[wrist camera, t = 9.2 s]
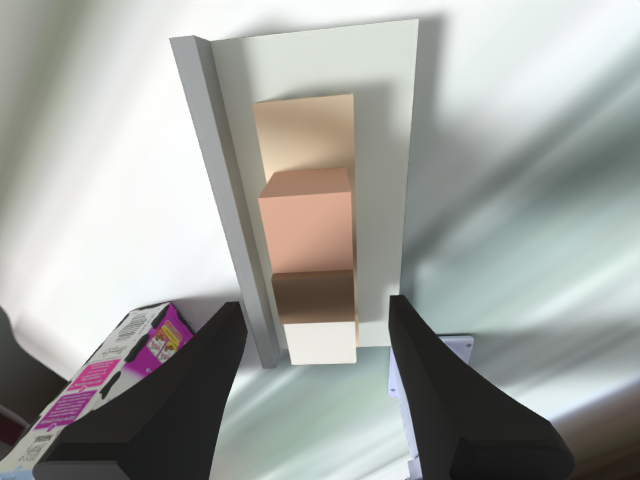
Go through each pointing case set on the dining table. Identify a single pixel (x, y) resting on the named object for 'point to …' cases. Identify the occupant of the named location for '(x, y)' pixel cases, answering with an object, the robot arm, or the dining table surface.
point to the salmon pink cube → (308, 220)
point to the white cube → (321, 343)
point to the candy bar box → (101, 380)
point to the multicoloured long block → (308, 154)
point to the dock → (247, 165)
